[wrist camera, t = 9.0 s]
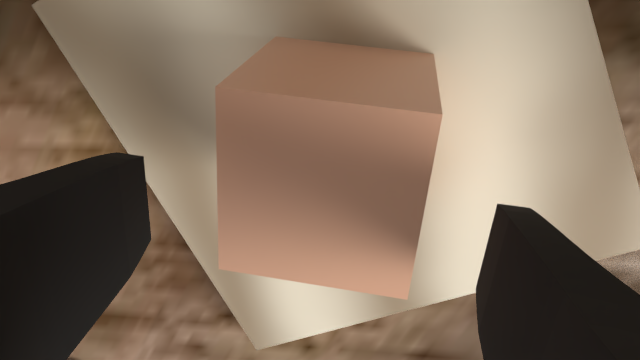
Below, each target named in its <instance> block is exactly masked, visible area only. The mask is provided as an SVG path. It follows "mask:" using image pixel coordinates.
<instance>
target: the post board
mask: <svg viewBox="0 0 640 360" xmlns="http://www.w3.org/2000/svg"><path fill="white" fill-rule="evenodd" d="M32 7H33V8H34V10H35V12H36V13H37V15H38V16H39V18H40V19H41V21H42V22H43V24H44V25H45V27H46V28H47V30H48V31H49V33H50V35H51V36H52V38H53V39H54V41H55V42H56V44H57V45H58V47H59V48H60V50H61V51H62V53H63V54H64V56H65V57H66V59H67V61H68V62H69V64H70V65H71V67H72V68H73V70H74V71H75V73H76V74H77V76H78V77H79V79H80V80H81V82H82V84H83V85H84V87H85V88H86V90H87V91H88V93H89V94H90V96H91V97H92V99H93V100H94V102H95V103H96V105H97V106H98V108H99V110H100V111H101V113H102V114H103V116H104V117H105V119H106V120H107V122H108V123H109V125H110V126H111V128H112V129H113V131H114V133H115V134H116V136H117V137H118V139H119V140H120V142H121V143H122V145H123V146H124V148H125V149H126V151H127V152H128V154H131V155H139V156H144V166H145V177H146V182H147V183H148V185H149V186H150V188H151V189H152V191H153V192H154V194H155V195H156V197H157V198H158V200H159V201H160V203H161V204H162V206H163V208H164V209H165V211H166V212H167V214H168V215H169V217H170V218H171V220H172V221H173V223H174V224H175V226H176V227H177V229H178V231H179V232H180V234H181V235H182V237H183V238H184V240H185V241H186V243H187V244H188V246H189V247H190V249H191V250H192V252H193V253H194V255H195V257H196V258H197V260H198V261H199V263H200V264H201V266H202V267H203V269H204V270H205V272H206V273H207V275H208V276H209V278H210V280H211V281H212V283H213V284H214V286H215V287H216V289H217V290H218V292H219V293H220V295H221V296H222V298H223V299H224V301H225V302H226V304H227V306H228V307H229V309H230V310H231V312H232V313H233V315H234V316H235V318H236V319H237V321H238V322H239V324H240V325H241V327H242V329H243V330H244V332H245V333H246V335H247V336H248V338H249V339H250V341H251V342H252V344H253V345H254V347H255V348H256V350H260V349H263V348H267V347H271V346H275V345H279V344H282V343H286V342H290V341H294V340H298V339H301V338H305V337H309V336H313V335H317V334H320V333H324V332H328V331H332V330H336V329H339V328H343V327H347V326H351V325H355V324H358V323H362V322H366V321H370V320H374V319H377V318H381V317H385V316H389V315H393V314H396V313H400V312H404V311H408V310H412V309H415V308H419V307H423V306H427V305H431V304H434V303H438V302H442V301H446V300H450V299H453V298H457V297H461V296H465V295H469V294H472V293H476V285H477V281H478V277H479V273H480V270H481V266H482V262H483V258H484V254H485V250H486V246H487V242H488V238H489V234H490V230H491V226H492V223H493V219H494V215H495V211H496V207H497V204H505V205H512V206H520V207H527V208H531V209H533V210H534V211H536V212H537V213H538V214H540V215H541V216H542V217H543V218H545V219H546V220H547V221H548V222H550V223H551V224H552V225H553V226H554V227H556V228H557V229H558V230H559V231H560V232H561V233H563V234H564V235H565V236H566V237H567V238H568V239H570V240H571V241H572V242H573V243H574V244H576V245H577V246H578V247H579V248H580V249H582V250H583V251H584V252H585V253H586V254H588V255H589V256H590V257H591V258H592V259H594V260H595V261H598V260H602V259H605V258H609V257H613V256H617V255H621V254H624V253H628V252H632V251H636V250H640V189H639V185H638V181H637V178H636V174H635V170H634V167H633V163H632V159H631V156H630V152H629V148H628V145H627V141H626V138H625V134H624V130H623V127H622V123H621V119H620V116H619V112H618V108H617V105H616V101H615V97H614V94H613V90H612V86H611V83H610V79H609V75H608V72H607V68H606V64H605V61H604V57H603V53H602V50H601V46H600V42H599V39H598V35H597V31H596V28H595V24H594V20H593V17H592V13H591V9H590V6H589V2H588V0H39V1H37V2H36V3H34V4H32ZM274 37H284V38H294V39H303V40H312V41H321V42H330V43H339V44H348V45H357V46H366V47H375V48H385V49H394V50H403V51H412V52H421V53H430V54H434V58H435V65H436V72H437V79H438V86H439V93H440V100H441V107H442V114H443V115H442V121H441V126H440V131H439V136H438V142H437V147H436V152H435V157H434V163H433V168H432V173H431V178H430V184H429V189H428V194H427V199H426V205H425V210H424V215H423V220H422V226H421V231H420V236H419V241H418V247H417V252H416V257H415V262H414V268H413V273H412V278H411V283H410V289H409V294H408V299H407V300H405V299H399V298H393V297H387V296H381V295H375V294H368V293H362V292H356V291H350V290H344V289H338V288H331V287H325V286H319V285H313V284H307V283H301V282H295V281H288V280H282V279H276V278H270V277H264V276H258V275H251V274H245V273H239V272H233V271H227V270H221V269H219V263H218V210H217V157H216V104H215V87H216V86H217V85H218V84H219V83H220V82H222V81H223V80H224V79H225V78H226V77H228V76H229V75H230V74H231V73H232V72H234V71H235V70H236V69H237V68H238V67H240V66H241V65H242V64H243V63H244V62H246V61H247V60H248V59H249V58H250V57H252V56H253V55H254V54H255V53H256V52H258V51H259V50H260V49H261V48H262V47H264V46H265V45H266V44H267V43H268V42H270V41H271V40H272V39H273V38H274Z"/></svg>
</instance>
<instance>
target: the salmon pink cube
mask: <svg viewBox="0 0 640 360" xmlns="http://www.w3.org/2000/svg"><path fill="white" fill-rule="evenodd" d="M215 104H216V157H217V210H218V263H219V269H221V270H227V271H233V272H239V273H245V274H251V275H258V276H264V277H270V278H276V279H282V280H288V281H295V282H301V283H307V284H313V285H319V286H325V287H331V288H338V289H344V290H350V291H356V292H362V293H368V294H375V295H381V296H387V297H393V298H399V299H405V300H407V299H408V294H409V289H410V283H411V278H412V273H413V268H414V262H415V257H416V252H417V247H418V241H419V236H420V231H421V226H422V220H423V215H424V210H425V205H426V199H427V194H428V189H429V184H430V178H431V173H432V168H433V163H434V157H435V152H436V147H437V142H438V136H439V131H440V126H441V121H442V115H443V114H442V107H441V100H440V93H439V86H438V79H437V72H436V65H435V58H434V54H430V53H421V52H412V51H403V50H394V49H385V48H375V47H366V46H357V45H348V44H339V43H330V42H321V41H312V40H303V39H294V38H284V37H274V38H273V39H272V40H271V41H270V42H268V43H267V44H266V45H265V46H264V47H262V48H261V49H260V50H259V51H258V52H256V53H255V54H254V55H253V56H252V57H250V58H249V59H248V60H247V61H246V62H244V63H243V64H242V65H241V66H240V67H238V68H237V69H236V70H235V71H234V72H232V73H231V74H230V75H229V76H228V77H226V78H225V79H224V80H223V81H222V82H220V83H219V84H218V85H217V86H216V87H215Z"/></svg>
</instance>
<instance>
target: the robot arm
mask: <svg viewBox="0 0 640 360" xmlns="http://www.w3.org/2000/svg"><path fill="white" fill-rule="evenodd" d="M150 240H151V232H150V221H149V210H148V199H147V188H146V177H145V166H144V156H139V155H131V154H124V153H110V154H104V155H99V156H95V157H91V158H88V159H84V160H81V161H77V162H74V163H70V164H67V165H64V166H61V167H57V168H54V169H51V170H48V171H44V172H41V173H38V174H35V175H31V176H28V177H25V178H22V179H18V180H15V181H11V182H8V183H4V184H1V185H0V360H66V359H67V358H68V357H69V355H70V354H71V353H72V352H73V350H74V349H75V348H76V347H77V345H78V344H79V343H80V341H81V340H82V339H83V338H84V336H85V335H86V334H87V332H88V331H89V330H90V329H91V327H92V326H93V325H94V323H95V322H96V321H97V320H98V318H99V317H100V316H101V315H102V313H103V312H104V311H105V309H106V308H107V307H108V306H109V304H110V303H111V302H112V300H113V299H114V298H115V296H116V295H117V294H118V293H119V291H120V290H121V289H122V287H123V286H124V285H125V283H126V282H127V281H128V279H129V278H130V276H131V275H132V273H133V271H134V270H135V268H136V266H137V264H138V263H139V261H140V259H141V257H142V256H143V254H144V252H145V250H146V248H147V246H148V244H149V242H150ZM476 304H477V320H478V333H479V338H480V343H481V348H482V353H483V358H484V360H640V295H639V294H638V293H637V292H635V291H634V290H632V289H631V288H630V287H628V286H627V285H626V284H624V283H623V282H622V281H620V280H619V279H618V278H616V277H615V276H614V275H612V274H611V273H610V272H609V271H607V270H606V269H605V268H604V267H602V266H601V265H600V264H599V263H597V262H596V261H595V260H594V259H592V258H591V257H590V256H589V255H588V254H586V253H585V252H584V251H583V250H582V249H580V248H579V247H578V246H577V245H576V244H574V243H573V242H572V241H571V240H570V239H568V238H567V237H566V236H565V235H564V234H563V233H561V232H560V231H559V230H558V229H557V228H556V227H554V226H553V225H552V224H551V223H550V222H548V221H547V220H546V219H545V218H543V217H542V216H541V215H540V214H538V213H537V212H536V211H534V210H533V209H531V208H527V207H520V206H512V205H505V204H497V207H496V211H495V215H494V219H493V223H492V226H491V230H490V234H489V238H488V242H487V246H486V250H485V254H484V258H483V262H482V266H481V270H480V273H479V277H478V281H477V285H476Z"/></svg>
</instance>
